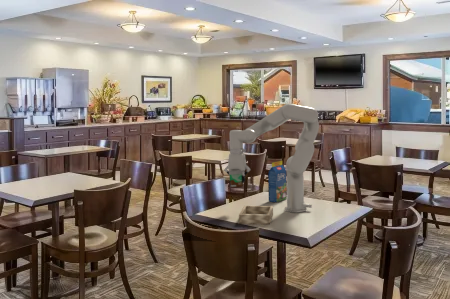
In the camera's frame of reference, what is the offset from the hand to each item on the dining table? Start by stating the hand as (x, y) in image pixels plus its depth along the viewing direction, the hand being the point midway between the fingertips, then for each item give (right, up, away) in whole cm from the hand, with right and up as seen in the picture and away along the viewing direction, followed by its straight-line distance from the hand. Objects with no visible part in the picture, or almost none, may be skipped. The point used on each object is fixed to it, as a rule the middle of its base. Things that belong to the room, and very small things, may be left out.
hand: (237, 182), depth 250 cm
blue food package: (+27, -14, +28) cm, 41 cm away
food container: (+1, -3, 0) cm, 3 cm away
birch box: (+10, -19, -16) cm, 27 cm away
